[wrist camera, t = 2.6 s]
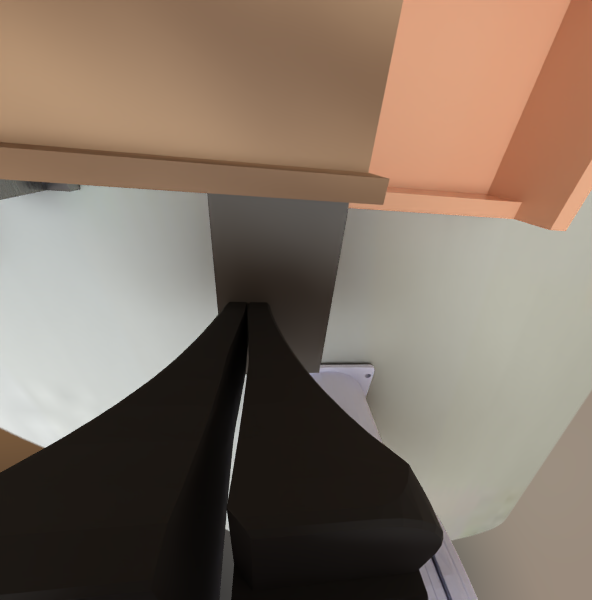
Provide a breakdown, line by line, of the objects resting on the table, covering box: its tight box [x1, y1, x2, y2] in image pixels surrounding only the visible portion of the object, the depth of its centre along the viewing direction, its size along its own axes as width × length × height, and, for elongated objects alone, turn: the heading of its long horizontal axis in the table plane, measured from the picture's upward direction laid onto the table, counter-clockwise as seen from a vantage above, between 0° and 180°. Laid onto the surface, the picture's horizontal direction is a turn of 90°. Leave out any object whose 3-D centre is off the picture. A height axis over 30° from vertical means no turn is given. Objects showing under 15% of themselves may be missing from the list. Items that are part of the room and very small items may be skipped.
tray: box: [348, 0, 592, 231], centre depth 11 cm, size 10×10×5 cm
